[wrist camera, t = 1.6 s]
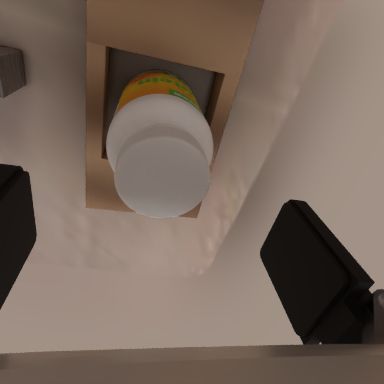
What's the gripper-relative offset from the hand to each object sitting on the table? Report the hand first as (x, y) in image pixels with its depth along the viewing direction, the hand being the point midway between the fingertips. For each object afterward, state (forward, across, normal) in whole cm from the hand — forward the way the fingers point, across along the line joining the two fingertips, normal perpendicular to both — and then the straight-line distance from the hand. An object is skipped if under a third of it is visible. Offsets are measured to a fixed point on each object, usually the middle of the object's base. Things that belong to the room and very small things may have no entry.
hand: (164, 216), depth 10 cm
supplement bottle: (+11, 0, -1) cm, 11 cm away
